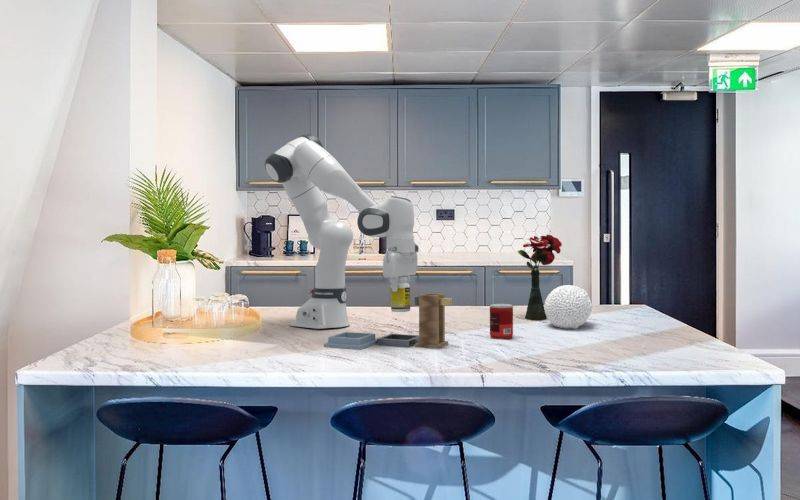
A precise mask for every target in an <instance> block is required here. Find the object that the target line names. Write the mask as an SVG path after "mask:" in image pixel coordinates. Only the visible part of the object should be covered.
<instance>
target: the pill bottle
mask: <svg viewBox="0 0 800 500" xmlns="http://www.w3.org/2000/svg"><path fill="white" fill-rule="evenodd" d="M407 280H408V278H407V277H402V276H401V277H398V280H397V282H398V286H399V291H397V292H394V291H392V285H390V310H391V312H393V313H407V312H410V311H411V285H410V284H409V283H407Z"/></svg>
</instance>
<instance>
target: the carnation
mask: <svg viewBox="0 0 800 500" xmlns="http://www.w3.org/2000/svg"><path fill="white" fill-rule="evenodd" d="M539 237H540V239H539ZM539 237H538V236H536V235H533V237H530V236H529V238H528V237H526V240H528V241H529V242H530V243H529V242H525V243H523V245H522V247H523V248H530V250H529V251H531V250H532V254H531V256H530V255H529V254H528V253H527V251H525V250H524V249H518V250H517V251H516V252H517V253H518V254H519V255H520V256H522V257H523V258H525V259H527V260H529V261H526V266H527V267H528V268H529V269H531V270H530V275H531V281H530V282H531V288H530V293H529V299H528V303H527V308H526V312H525V316H524V319H525V320H529V321H545V320H548V317H547V315H546V313H545V308H544V306H545V304H544V302H543V297H542V291H541V287H540V270H539V267H540V266H539V265H540V263H541V265H542V266H548V265H551V264H552V263H553V262H554V260H555V257H556V256H555V254H554V252H555V253H556V254H560V253H561V247H562V245H563V244H562V241H560V239H559V238H557V237H555V236H553V235H551V234H546V235H541V236H539ZM553 251H554V252H553ZM532 262H533V263H534V266H533V264H532Z"/></svg>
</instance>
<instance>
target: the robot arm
mask: <svg viewBox="0 0 800 500" xmlns="http://www.w3.org/2000/svg"><path fill="white" fill-rule="evenodd" d="M323 146H324V145H323V144H322V142H321V140H320V138H318V137H317V136H316V135H314V134H312V133H305V134H303V135H300V136H299V137H297V138H295V139H293V140H291V141H289V142H286V143H285V145H283V146H281V148H279V149H278V150H276V151H274V152H272V153H271V154H270V155H269V156H267V158H266V159H265V161H264V168H265V172H266V173H267V174H268V177H270V179H271V180H272V181H273V182H276V183H277V184H282V187H283V188H284V190H285V192H286V195H287V196H288V199H289V200H290V202H291V203H292V204H293V206H294V208H295V209H296V212H297V213H298V215H299V216H300V217H299V218H300V219H301V221H302V222H303V223H302V224H303V225H304V228H305V231H306V234H307V239H308V243H310V245H311V246H312V247H313V248H315V249H316V250H318V251H319V255H318V258H317V259H318V260H317V263H316V265H315V268H314V269H315V270H314V271H315V272H314V274H315V275H314V276H315V279H314V281H315V283H314V285H315V287H314V288H313V289H311V290H309V293H308V294H309V295H310V294H311V296H310V298H309V300H307V301H305V303H303V304H302V305H301V306H300V307H298V308H297V311H296V314H295V315H296V316H295V320H294V321H290V323H289V326H291V327H300V328H308V329H309V328H310V329H316V330H321V329H330V328H344V327H348V326H350V321H349V317H348V312H347V303H346V302H347V288H346V264H347V258H348V253H349V249H350V246H351V244H352V243H353V240H354V232H353V229H352V227H350V226H349V225H348V224H346V223H344V222H342V221H339V220H333V219H332V218H331V215H330V212H329V209H328V202H327V200H326V198H325V196H324V195H323V193H326V194H329V195H331V196H335V197H338V198H341V199H342V200H345V202H347V203H349V204H350V205H352V207H354V209H356V211H358V212H359V214H358V215H357V223H356V224H357V227H358V229H359V231H360V233H362V234H363V235H364V236H367V237H371V238H381V239H386V251H385V253H384V255H383V260H382V276H383V278H389V281H390V284H391V285H392V291H394V292H397V291H399V286H398V282H397V280H398V277H407V278H408V280H407V283H408V284H409V283H410V280H411V277H410V276H414V275H416V274H417V271H418V253H419V249H420V247H419V245H417V244H416V242H415V235H414V226H415V213H414V205H413V202H412V200H410V199H409V198H404V197H402V196H396V195H393V196H389V197H388V198H387V199H385V200H384V201H381V202H380V203H377V202H376V201H375V200H374V199H373V198H372V197H371V196H370V195H369V194H368V193H367V192H366V191H365V190H363V189H362V187H360V186H359V185H358V184H357V183H356V181H354V179H353V178H352V177H351V175H349V173H348V172H347V171H346V170H345V168H344V167H343V166H342V165H341V163H339V161H338V160H337V159H336V158H335V157H334V156H333V155H332V154H331V153H329V152H328V150H326V149H325V148H324V147H323ZM321 191H322V192H323V193H322V192H321ZM391 285H390V286H391Z"/></svg>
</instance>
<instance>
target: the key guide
mask: <svg viewBox="0 0 800 500" xmlns="http://www.w3.org/2000/svg"><path fill="white" fill-rule="evenodd" d="M418 296H419V305H418V335H419V342H418V343H416V344H415V345H414V346H415V347H416V348H427V349H442V348H444V347H446V346H448V345H449V340H446V339H445V338H446V337H445V336H446V334H445V333H446V331H445V330H446V326H445V324H446V317H445V316H446V314H445V312H446V311H445V310H446V309H445V308H446V305H439V298H446V297H445V293H429V292H428V293H427V292H426V293H425V294H419V295H418Z"/></svg>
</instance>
